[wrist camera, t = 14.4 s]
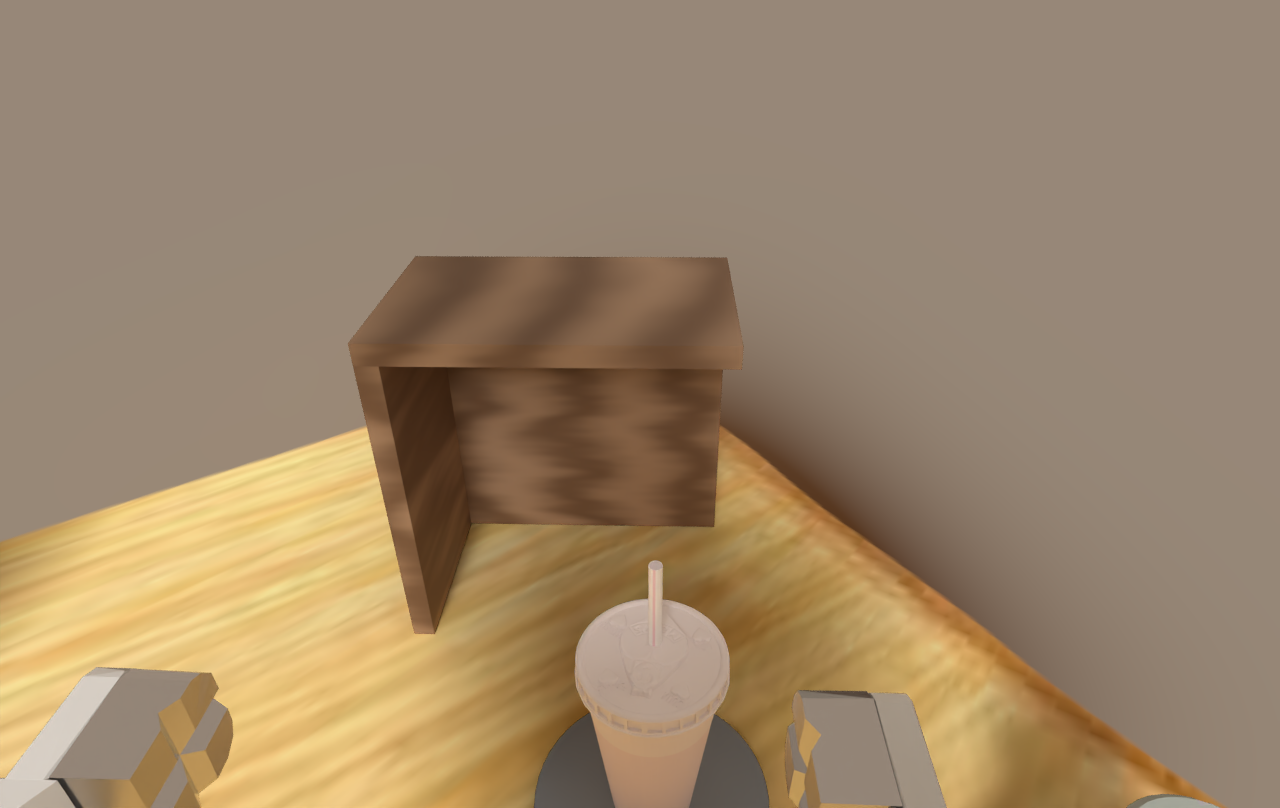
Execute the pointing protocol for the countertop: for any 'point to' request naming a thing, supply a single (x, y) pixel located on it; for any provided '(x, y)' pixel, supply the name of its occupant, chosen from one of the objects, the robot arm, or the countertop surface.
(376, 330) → the shelf
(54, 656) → the countertop surface
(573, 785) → the coaster
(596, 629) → the smoothie
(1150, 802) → the air freshener
